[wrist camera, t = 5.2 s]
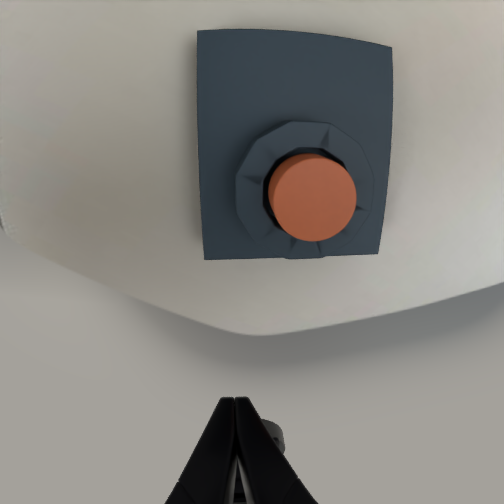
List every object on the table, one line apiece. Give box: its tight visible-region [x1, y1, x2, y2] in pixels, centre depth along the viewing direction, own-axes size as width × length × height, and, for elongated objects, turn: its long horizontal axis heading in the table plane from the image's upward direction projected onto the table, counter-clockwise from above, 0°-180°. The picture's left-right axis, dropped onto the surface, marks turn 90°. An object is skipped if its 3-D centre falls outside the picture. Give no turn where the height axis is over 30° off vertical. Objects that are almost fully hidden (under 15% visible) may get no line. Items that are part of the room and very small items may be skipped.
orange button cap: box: [268, 153, 356, 241], centre depth 13 cm, size 4×4×2 cm
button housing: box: [197, 29, 393, 260], centre depth 14 cm, size 12×10×4 cm
